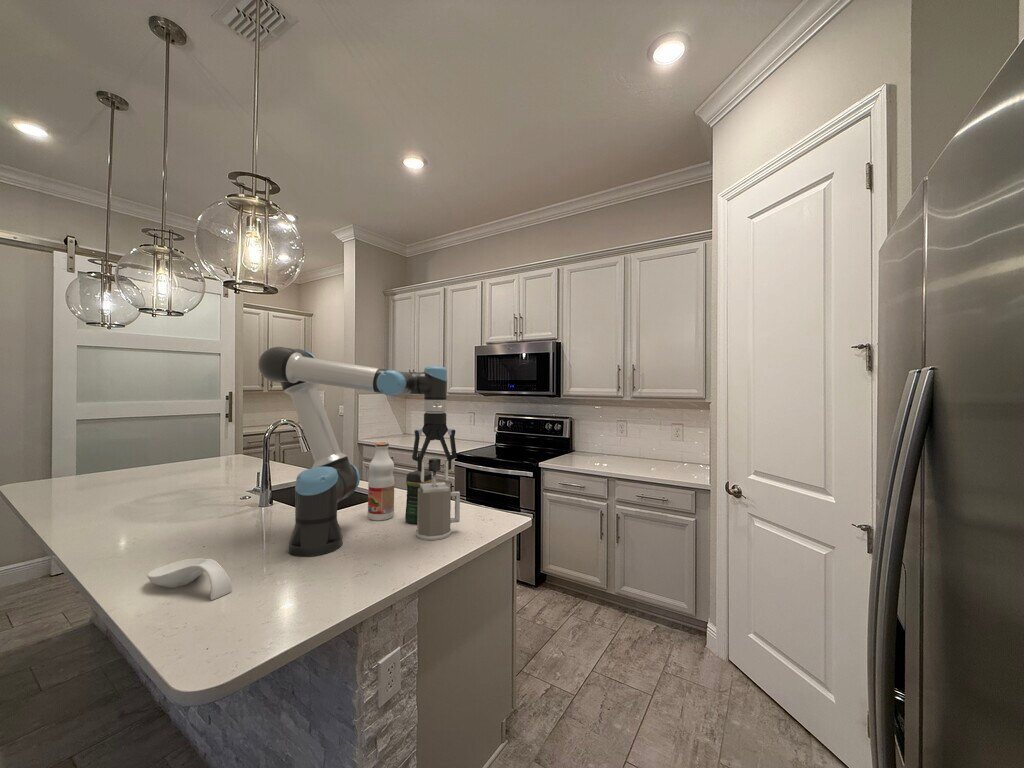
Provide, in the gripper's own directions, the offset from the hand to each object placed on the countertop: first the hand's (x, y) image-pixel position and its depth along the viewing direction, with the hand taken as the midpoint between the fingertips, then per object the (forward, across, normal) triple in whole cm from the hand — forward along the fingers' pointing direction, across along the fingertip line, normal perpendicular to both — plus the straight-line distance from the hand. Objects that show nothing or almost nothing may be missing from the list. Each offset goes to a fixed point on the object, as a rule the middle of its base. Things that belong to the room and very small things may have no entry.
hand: (434, 480), depth 140 cm
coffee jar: (+18, -3, +16) cm, 25 cm away
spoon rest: (+19, -62, -18) cm, 67 cm away
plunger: (+13, 0, 0) cm, 13 cm away
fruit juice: (+18, -16, +24) cm, 34 cm away
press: (+18, +1, 0) cm, 18 cm away
